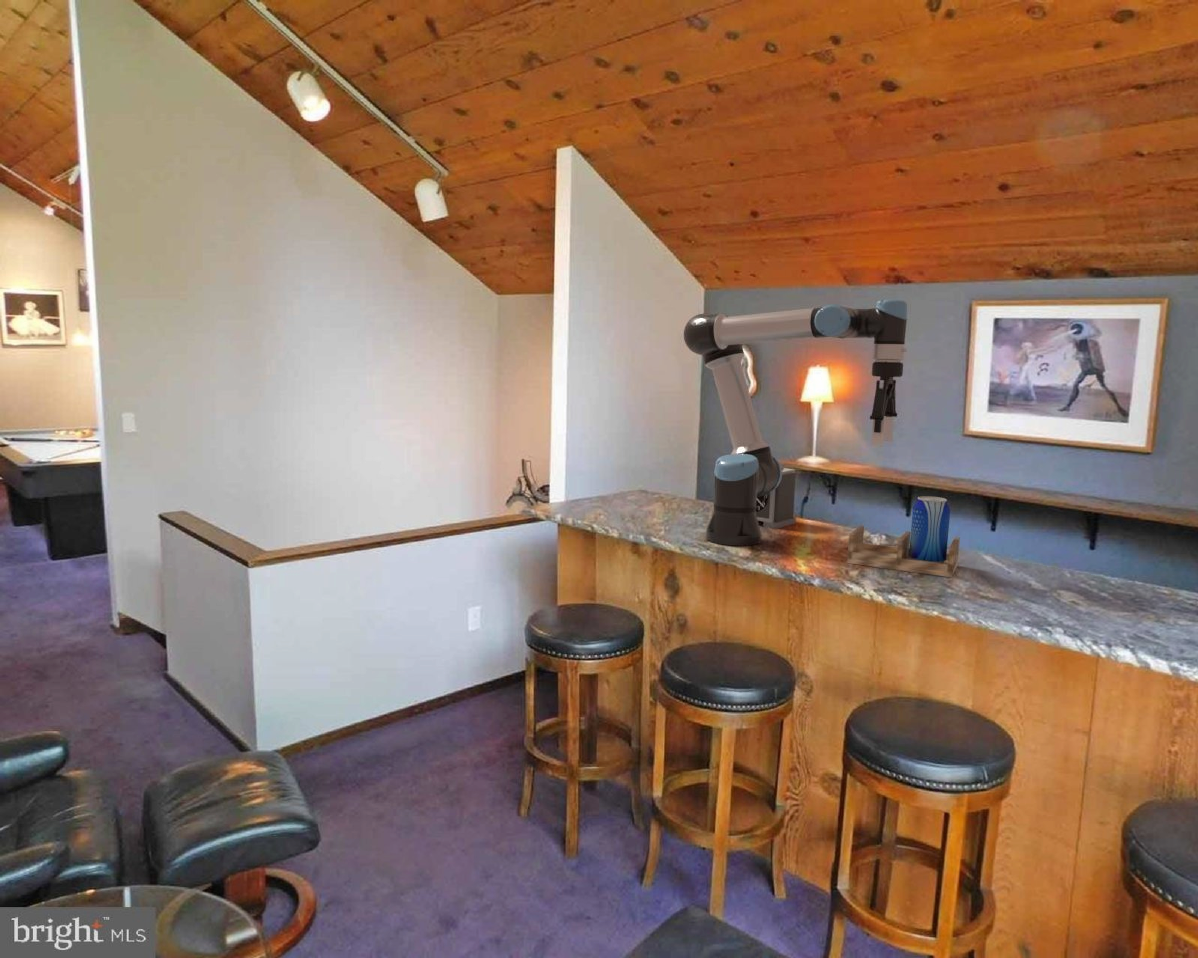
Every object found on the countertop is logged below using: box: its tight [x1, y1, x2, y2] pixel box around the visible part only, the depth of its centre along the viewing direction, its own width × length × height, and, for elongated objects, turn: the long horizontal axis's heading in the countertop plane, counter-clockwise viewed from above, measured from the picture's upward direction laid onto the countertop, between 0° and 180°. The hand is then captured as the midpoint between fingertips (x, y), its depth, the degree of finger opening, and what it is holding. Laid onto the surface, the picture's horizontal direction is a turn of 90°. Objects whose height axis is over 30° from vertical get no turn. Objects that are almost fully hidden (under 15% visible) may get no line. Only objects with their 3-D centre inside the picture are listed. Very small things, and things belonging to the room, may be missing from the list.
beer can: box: [909, 495, 951, 564], centre depth 195 cm, size 8×8×16 cm
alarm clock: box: [756, 465, 797, 529], centre depth 248 cm, size 18×13×18 cm
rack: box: [846, 525, 961, 578], centre depth 199 cm, size 24×13×7 cm, turn 61°
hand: (881, 443), depth 210 cm, fingers open, 13 cm apart
